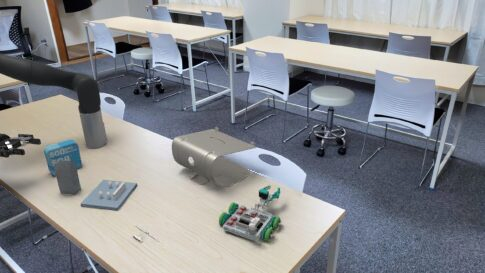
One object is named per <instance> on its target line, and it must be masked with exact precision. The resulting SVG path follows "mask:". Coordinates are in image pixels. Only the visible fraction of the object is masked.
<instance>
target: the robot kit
mask: <svg viewBox="0 0 485 273" xmlns="http://www.w3.org/2000/svg"><path fill="white" fill-rule="evenodd" d="M271 186H272V185H267V186H264V187H263V188H260V189H259V190H258V197H259V202H257V203H255V204H254V205H255V206H254V207H251V208H248V207H247V206H245V205H240V206H239V204H238V203H236V202H234V201H233V202H232V203H230V204H229V207H228V211H227V212H228V213H227V212H226V211H224V212H222V213H221V214H220V215H219V217H218V224H219V225H220V226H222V228H223V230H224V231H227V232H230V233H232V234H235V235H238V236H240V237H243V238H246V239H248V240H252V241H253V242H257V241H258V240H259V238H260V237H261V239H262V240H263V241H264V239H265V242H270V240H271V239H272V236H273V233H274V230H275V231H276V230H278V229H279V228H280V225H281V221H282V220H281V217H280V216H276V215H273V213H269V212H267V207H268V204H269V203H270V202H273V200H274V199H279V198H280V194H281V187H277V190H276V191H274V192H273V194H270V191H269V190H270V189H271V188H272V187H271ZM259 208H261V209H262V210H260V209H259ZM261 219H263V220H265V221H264V222H261ZM278 227H279V228H278Z"/></svg>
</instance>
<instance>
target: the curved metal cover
mask: <svg viewBox="0 0 485 273" xmlns="http://www.w3.org/2000/svg"><path fill="white" fill-rule="evenodd" d="M255 144H256V143H255V142H254V141H250V143H248V142H246V141H244V140H240V139H238V138H235V137H234V136H231V135H229V134H226V133H224V132H222V131H219V127H217V126H215V127H214V128H210V129H206V130H201V131H197V132H191V133H188V134H183V135H178V136H176V137H174V138H173V140H172V141H171V154H172V157H173V160H174V161H175V162H176V163H177V164H178V165H180V166H182V167H184V168H185V169H187V170H189V171H190V172H193V173H194V174H195V175H194V176H192V177H190V180H191V182H194V183H196V184H197V185H200V186H203V185H206V184H207V183H209V182H210V183H211V182H212V183H213V184H214V185H216V186H218V187H230V186H232V185H235V184H237V183H239V182H240V181H243V180H244V179H247V177H249V176H250V175H251V171H250V170H249V169H247V168H246V167H245V166H243V165H241V164H239V163H237V162H235V161H234V160H230V159H229V158H226V157H223V156H228V155H231V154H236V153H241V152H244V151H248V150H252V149H256V146H255ZM189 158H192V160H193V162H190V161H189Z"/></svg>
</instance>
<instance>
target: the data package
mask: <svg viewBox="0 0 485 273" xmlns="http://www.w3.org/2000/svg"><path fill="white" fill-rule="evenodd" d="M43 154H44V158H45V160H46V161H45V162H46V164H47V170H48V171H49V172H50V174H51V175H52V176H53V177H56V174H55V170H54V165H55V164H56V163H58V162H59V161H60V160H61V161H71V162H75V164H76V168H77V170H78V169H81V167H82V166H83V163H82V157H81V153H80V148H79V144H78V143H77V142H76V141H75V140H74V139H66V140H63V141H60V142H57V143H53V144H49V145H47V146H45V147H44V148H43Z"/></svg>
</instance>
